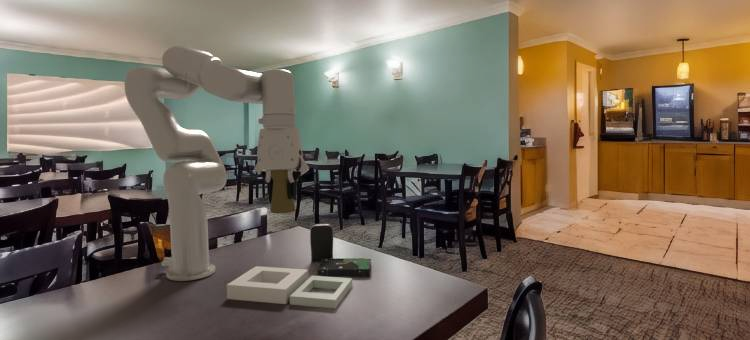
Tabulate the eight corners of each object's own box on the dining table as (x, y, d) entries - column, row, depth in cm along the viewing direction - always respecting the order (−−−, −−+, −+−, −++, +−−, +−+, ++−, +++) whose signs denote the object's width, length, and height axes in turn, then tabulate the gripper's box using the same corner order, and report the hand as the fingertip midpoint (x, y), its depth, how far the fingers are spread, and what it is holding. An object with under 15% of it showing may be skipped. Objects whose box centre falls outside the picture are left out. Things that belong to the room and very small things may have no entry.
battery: (332, 257, 130) (332, 222, 129) (333, 261, 126) (333, 224, 125) (310, 259, 129) (309, 223, 128) (310, 262, 125) (309, 225, 124)
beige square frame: (227, 299, 98) (226, 284, 98) (256, 278, 112) (256, 266, 111) (290, 304, 95) (289, 289, 94) (312, 282, 108) (311, 269, 108)
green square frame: (290, 304, 95) (289, 296, 94) (312, 282, 108) (311, 275, 108) (335, 308, 92) (335, 299, 92) (352, 285, 106) (352, 278, 106)
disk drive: (316, 279, 113) (371, 278, 113) (316, 269, 112) (370, 268, 112) (321, 267, 123) (371, 266, 123) (321, 258, 123) (371, 257, 123)
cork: (276, 208, 104) (274, 165, 103) (299, 208, 103) (297, 165, 102) (266, 213, 98) (264, 167, 97) (290, 213, 97) (288, 167, 96)
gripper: (239, 123, 97) (243, 200, 98) (306, 121, 93) (309, 201, 95) (255, 124, 104) (258, 195, 106) (317, 122, 100) (320, 196, 102)
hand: (282, 197), depth 100 cm, fingers closed on cork, 4 cm apart
